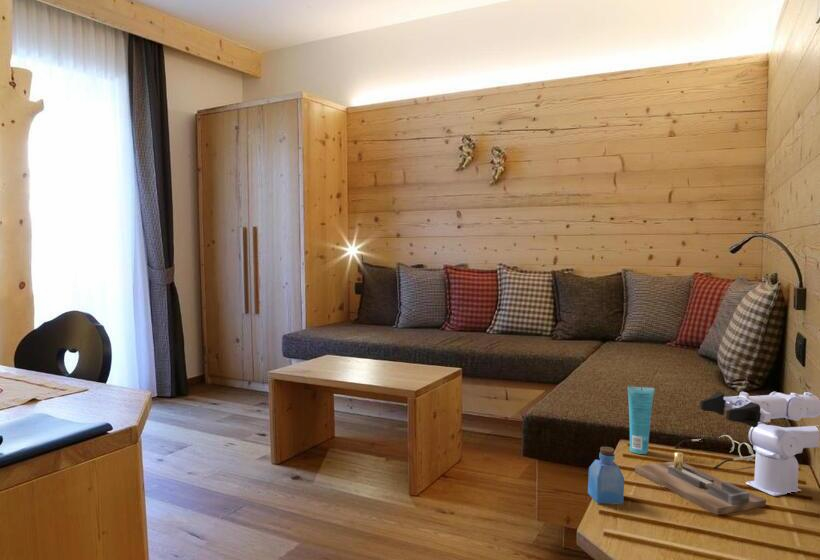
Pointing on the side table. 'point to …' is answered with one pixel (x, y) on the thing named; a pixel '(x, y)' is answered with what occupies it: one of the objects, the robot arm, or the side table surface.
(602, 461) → the perfume bottle
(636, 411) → the tube
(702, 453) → the side table surface
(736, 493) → the door board
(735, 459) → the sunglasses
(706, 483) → the bolt
